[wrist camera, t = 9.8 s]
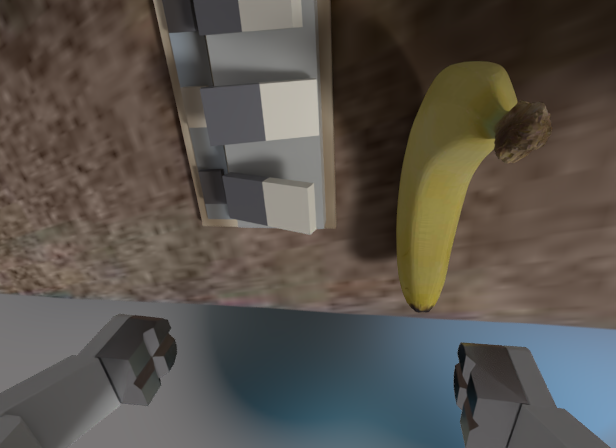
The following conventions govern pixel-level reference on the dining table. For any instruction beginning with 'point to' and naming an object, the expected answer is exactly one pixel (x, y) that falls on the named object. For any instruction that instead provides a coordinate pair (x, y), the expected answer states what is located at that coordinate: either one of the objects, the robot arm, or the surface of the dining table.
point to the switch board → (186, 86)
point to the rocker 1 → (246, 15)
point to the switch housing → (266, 68)
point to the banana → (455, 165)
